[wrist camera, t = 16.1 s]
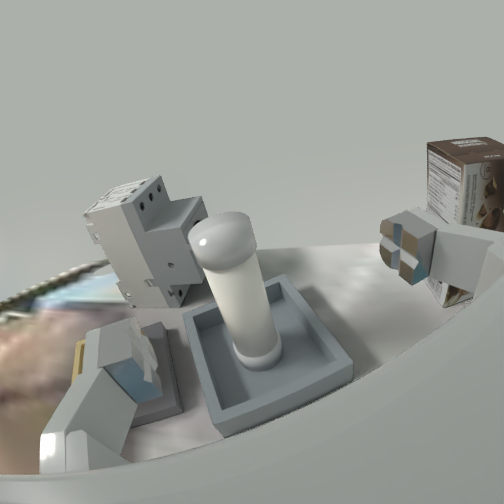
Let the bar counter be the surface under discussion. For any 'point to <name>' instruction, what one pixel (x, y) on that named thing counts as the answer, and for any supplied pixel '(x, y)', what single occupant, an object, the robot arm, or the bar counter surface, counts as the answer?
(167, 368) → the block
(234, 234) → the cylinder
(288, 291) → the parts tray
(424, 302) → the bar counter surface
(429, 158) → the coffee box
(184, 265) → the circuit breaker
